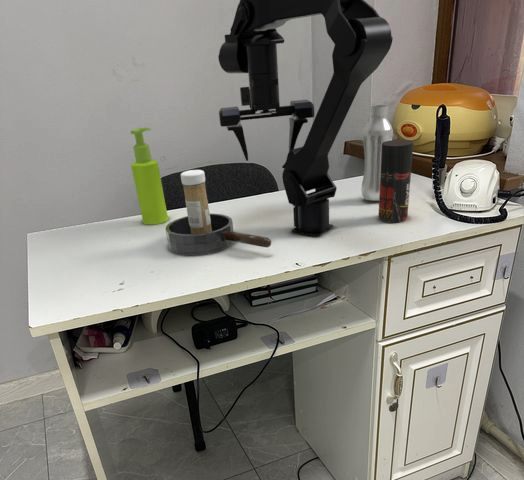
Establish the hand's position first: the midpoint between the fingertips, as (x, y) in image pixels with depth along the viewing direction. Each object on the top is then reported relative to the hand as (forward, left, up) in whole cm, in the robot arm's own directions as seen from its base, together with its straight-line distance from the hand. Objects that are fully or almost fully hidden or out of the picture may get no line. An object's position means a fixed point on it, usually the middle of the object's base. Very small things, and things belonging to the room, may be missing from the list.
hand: (268, 158), depth 102 cm
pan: (+5, +18, -13) cm, 23 cm away
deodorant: (-24, -10, -13) cm, 29 cm away
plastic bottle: (-15, -21, -13) cm, 29 cm away
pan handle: (-6, +18, -11) cm, 23 cm away
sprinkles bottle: (+5, +18, -13) cm, 23 cm away
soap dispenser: (+26, +11, -13) cm, 31 cm away
